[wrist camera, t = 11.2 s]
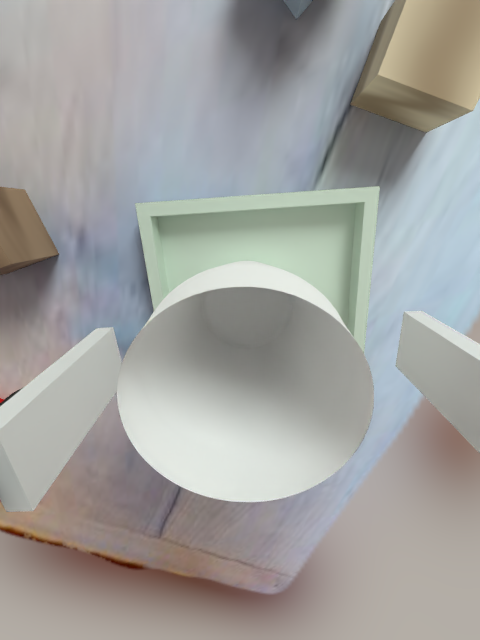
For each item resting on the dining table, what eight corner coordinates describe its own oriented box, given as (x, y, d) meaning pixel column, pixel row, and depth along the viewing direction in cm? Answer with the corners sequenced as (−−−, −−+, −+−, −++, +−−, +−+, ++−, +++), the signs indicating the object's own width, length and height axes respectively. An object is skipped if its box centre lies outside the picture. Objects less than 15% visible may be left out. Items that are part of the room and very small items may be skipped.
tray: (176, 389, 24) (170, 404, 22) (146, 204, 19) (135, 203, 17) (351, 383, 24) (359, 397, 22) (366, 189, 19) (379, 186, 17)
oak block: (349, 105, 17) (377, 74, 13) (380, 22, 16) (420, -38, 12) (425, 133, 18) (473, 110, 14) (461, 54, 16) (525, 5, 12)
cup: (312, 353, 22) (377, 496, 11) (198, 366, 23) (149, 513, 12) (303, 232, 19) (383, 258, 8) (173, 252, 20) (73, 302, 9)
